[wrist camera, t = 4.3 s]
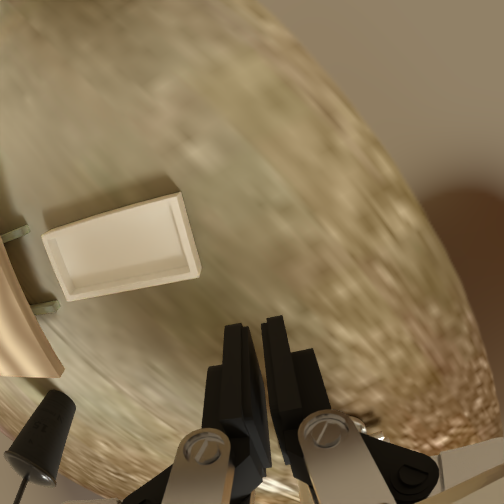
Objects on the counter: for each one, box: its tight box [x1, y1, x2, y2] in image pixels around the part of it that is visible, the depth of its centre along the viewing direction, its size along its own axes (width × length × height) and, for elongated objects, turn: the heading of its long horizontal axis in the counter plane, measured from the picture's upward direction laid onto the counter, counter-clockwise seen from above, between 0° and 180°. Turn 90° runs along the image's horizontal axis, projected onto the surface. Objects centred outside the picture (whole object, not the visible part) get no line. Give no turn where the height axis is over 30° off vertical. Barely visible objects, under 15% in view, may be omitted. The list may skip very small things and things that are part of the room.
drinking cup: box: [4, 390, 76, 504], centre depth 26 cm, size 8×8×20 cm
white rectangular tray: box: [41, 192, 202, 302], centre depth 26 cm, size 14×7×2 cm, turn 101°
